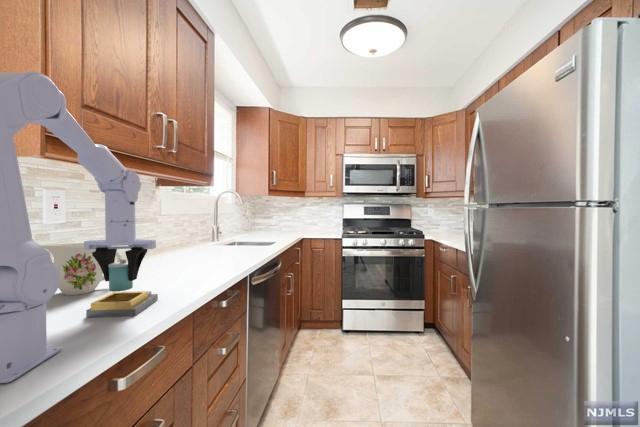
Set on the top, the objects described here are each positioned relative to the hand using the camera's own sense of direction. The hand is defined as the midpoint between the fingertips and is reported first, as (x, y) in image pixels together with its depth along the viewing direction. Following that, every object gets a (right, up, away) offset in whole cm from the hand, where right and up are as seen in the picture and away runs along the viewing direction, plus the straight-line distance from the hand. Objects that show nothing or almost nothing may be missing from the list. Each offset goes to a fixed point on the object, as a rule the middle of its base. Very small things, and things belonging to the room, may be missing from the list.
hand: (121, 280), depth 67 cm
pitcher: (-21, -7, +15) cm, 26 cm away
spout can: (0, -2, 0) cm, 2 cm away
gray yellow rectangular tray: (0, -7, +2) cm, 7 cm away
